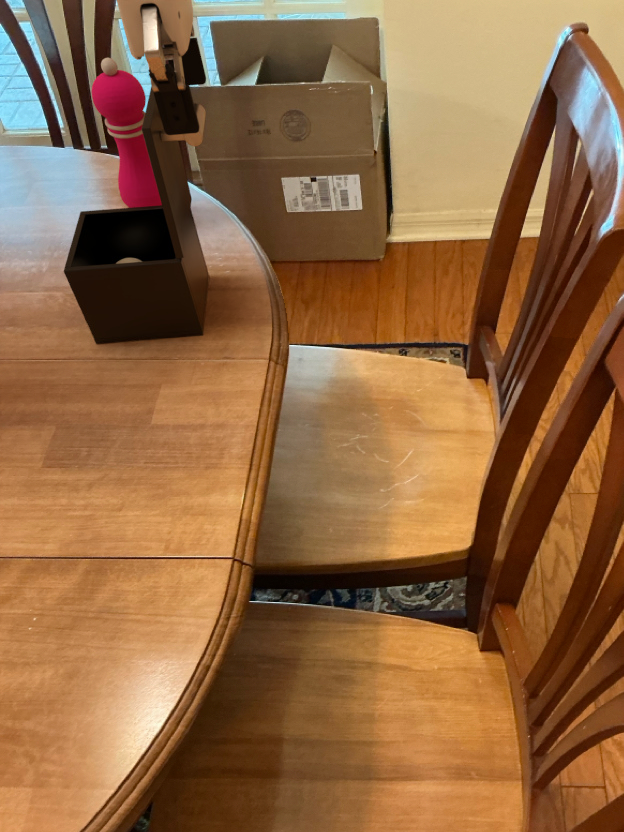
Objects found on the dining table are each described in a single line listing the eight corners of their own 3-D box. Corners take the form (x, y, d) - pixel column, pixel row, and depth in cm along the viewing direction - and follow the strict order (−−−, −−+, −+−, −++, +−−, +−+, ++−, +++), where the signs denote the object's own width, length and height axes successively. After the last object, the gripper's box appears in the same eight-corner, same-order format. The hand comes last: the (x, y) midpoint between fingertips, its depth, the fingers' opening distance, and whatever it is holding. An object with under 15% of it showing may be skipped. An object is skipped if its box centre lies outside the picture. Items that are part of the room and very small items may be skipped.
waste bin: (95, 344, 89) (63, 271, 81) (109, 283, 95) (80, 211, 88) (203, 335, 89) (181, 262, 81) (209, 275, 96) (189, 202, 88)
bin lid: (141, 128, 70) (194, 126, 70) (154, 72, 77) (202, 70, 77) (176, 258, 81) (222, 256, 81) (184, 199, 88) (227, 197, 88)
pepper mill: (193, 223, 103) (148, 60, 86) (143, 242, 100) (87, 79, 84) (171, 199, 106) (124, 39, 90) (122, 217, 104) (65, 56, 88)
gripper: (96, -147, 65) (157, 70, 79) (61, -78, 55) (138, 157, 69) (185, -154, 65) (229, 64, 79) (166, -86, 55) (221, 150, 69)
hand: (187, 107), depth 74 cm, fingers open, 9 cm apart
